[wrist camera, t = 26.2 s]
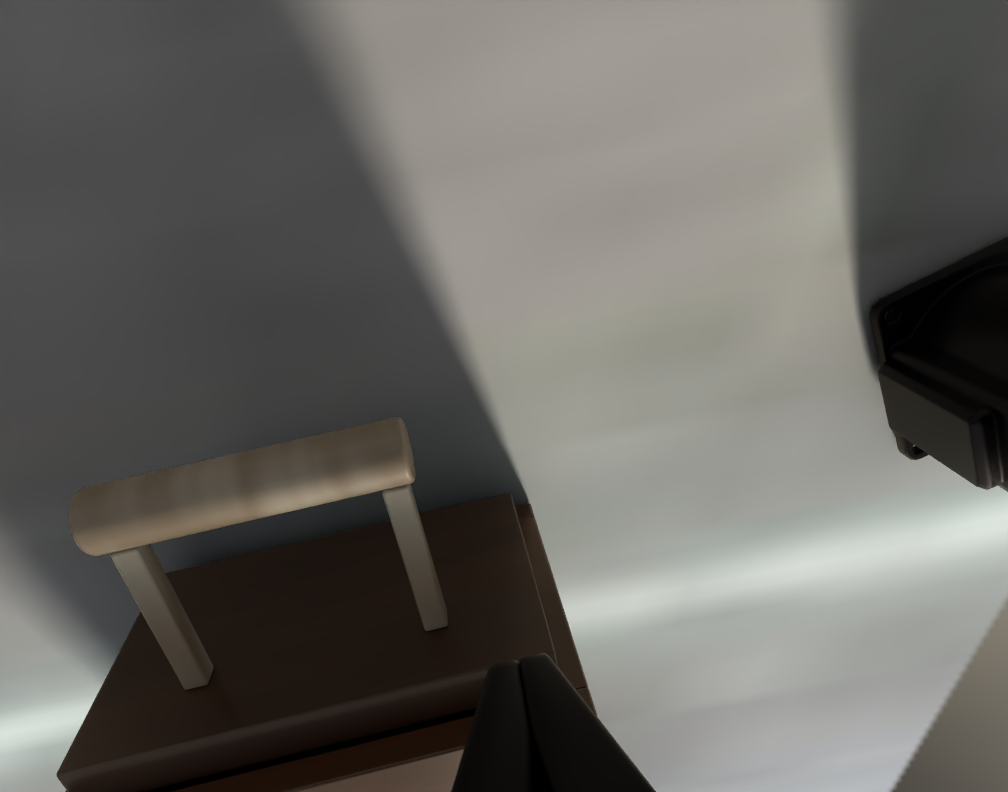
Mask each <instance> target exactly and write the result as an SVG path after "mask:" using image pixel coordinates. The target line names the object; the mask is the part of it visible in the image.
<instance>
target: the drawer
mask: <svg viewBox="0 0 1008 792" xmlns="http://www.w3.org/2000/svg"><path fill="white" fill-rule="evenodd" d="M414 481H415V465H414V459H413V453H412V449H411V444H410V440H409V436H408V433H407V430H406V427H405V424H404V422H403V420H402V419H401V418H399V417H395V418H390V419H386V420H381V421H377V422H372V423H368V424H364V425H359V426H355V427H350V428H346V429H341V430H337V431H333V432H328V433H324V434H319V435H315V436H310V437H306V438H301V439H297V440H293V441H288V442H284V443H279V444H275V445H270V446H266V447H261V448H257V449H253V450H248V451H244V452H239V453H235V454H230V455H226V456H221V457H217V458H213V459H208V460H204V461H199V462H195V463H190V464H186V465H181V466H177V467H173V468H168V469H164V470H159V471H155V472H150V473H146V474H142V475H137V476H133V477H128V478H124V479H119V480H115V481H110V482H106V483H102V484H97V485H93V486H88V487H84V488H82V489H81V490H79V491H78V492H77V493H76V494H75V495H74V497H73V498H72V500H71V503H70V507H69V526H70V530H71V533H72V536H73V538H74V540H75V542H76V544H77V545H78V547H79V548H80V549H81V550H82V551H83V552H85V553H87V554H89V555H94V556H99V555H104V554H108V553H111V559H112V560H113V562H114V564H115V566H116V568H117V569H118V571H119V573H120V575H121V577H122V578H123V580H124V582H125V584H126V586H127V587H128V589H129V591H130V593H131V595H132V596H133V598H134V600H135V602H136V603H137V605H138V607H139V609H140V613H139V615H138V617H137V619H136V621H135V623H134V625H133V627H132V629H131V631H130V633H129V634H128V636H127V638H126V640H125V642H124V644H123V646H122V648H121V650H120V652H119V654H118V656H117V658H116V660H115V662H114V664H113V665H112V667H111V669H110V671H109V673H108V675H107V677H106V679H105V681H104V683H103V685H102V687H101V689H100V691H99V693H98V695H97V696H96V698H95V700H94V702H93V704H92V706H91V708H90V710H89V712H88V714H87V716H86V718H85V720H84V722H83V724H82V726H81V727H80V729H79V731H78V733H77V735H76V737H75V739H74V741H73V743H72V745H71V747H70V749H69V751H68V753H67V755H66V757H65V758H64V760H63V762H62V764H61V766H60V768H59V770H58V772H57V777H58V779H59V780H60V782H61V783H62V784H63V786H64V787H65V788H66V790H67V791H68V792H144V791H148V790H151V792H170V791H174V790H178V789H182V788H186V787H190V786H194V785H198V784H202V783H206V782H210V781H214V780H218V779H222V778H226V777H230V776H234V775H238V774H242V773H246V772H250V771H254V770H258V769H262V768H266V767H270V766H274V765H278V764H282V763H286V762H290V761H294V760H297V759H296V757H295V755H294V754H296V753H300V752H304V751H308V750H312V749H316V748H320V747H324V746H328V745H332V744H336V743H340V742H344V741H348V740H352V739H356V738H360V737H364V736H368V735H372V734H376V733H380V732H384V731H388V730H392V729H396V728H400V727H404V726H408V725H412V724H416V723H420V722H424V721H428V720H432V719H436V718H440V717H444V716H448V715H452V714H456V717H457V720H458V719H462V718H466V717H470V716H473V715H475V712H476V708H477V705H478V702H479V699H480V695H481V692H482V689H483V685H484V682H485V679H486V676H487V672H488V670H489V668H490V666H491V665H493V664H496V663H501V662H505V661H509V660H516V661H517V662H518V663H519V661H520V659H521V658H523V657H527V656H531V655H535V654H540V653H546V654H547V655H548V656H549V657H550V658H551V659H552V660H553V662H554V663H555V664H556V665H557V667H558V664H557V659H556V654H555V650H554V646H553V642H552V639H551V635H550V632H549V628H548V624H547V621H546V617H545V613H544V610H543V606H542V603H541V599H540V595H539V592H538V588H537V584H536V581H535V577H534V574H533V570H532V566H531V563H530V559H529V555H528V552H527V548H526V545H525V541H524V537H523V534H522V530H521V527H520V523H519V519H518V516H517V512H516V508H515V505H514V501H513V498H512V494H511V493H507V494H503V495H499V496H494V497H490V498H486V499H482V500H477V501H473V502H469V503H464V504H460V505H456V506H452V507H447V508H443V509H439V510H435V511H430V512H426V513H422V514H419V512H418V508H417V505H416V501H415V498H414V495H413V491H412V488H411V483H413V482H414ZM381 490H382V495H383V498H384V501H385V504H386V508H387V511H388V514H389V517H390V520H391V521H387V522H383V523H379V524H375V525H370V526H366V527H362V528H357V529H353V530H349V531H345V532H340V533H336V534H332V535H327V536H323V537H319V538H315V539H310V540H306V541H302V542H297V543H293V544H289V545H285V546H280V547H276V548H272V549H267V550H263V551H259V552H255V553H250V554H246V555H242V556H237V557H233V558H229V559H225V560H220V561H216V562H212V563H207V564H203V565H199V566H195V567H190V568H186V569H182V570H177V571H173V572H169V573H165V572H164V570H163V568H162V566H161V564H160V562H159V560H158V558H157V556H156V554H155V553H154V551H153V549H152V547H151V545H150V544H151V543H156V542H160V541H164V540H169V539H173V538H177V537H182V536H186V535H190V534H195V533H199V532H203V531H208V530H212V529H216V528H221V527H225V526H229V525H234V524H238V523H242V522H247V521H251V520H255V519H260V518H264V517H268V516H273V515H277V514H281V513H286V512H290V511H294V510H299V509H303V508H307V507H312V506H316V505H320V504H325V503H329V502H333V501H338V500H342V499H346V498H351V497H355V496H359V495H364V494H368V493H372V492H377V491H381Z"/></svg>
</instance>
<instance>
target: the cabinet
mask: <svg viewBox="0 0 1008 792" xmlns="http://www.w3.org/2000/svg"><path fill="white" fill-rule="evenodd" d="M515 508H516V512H517V516H518V519H519V523H520V527H521V530H522V534H523V537H524V541H525V545H526V548H527V552H528V555H529V559H530V563H531V566H532V570H533V574H534V577H535V581H536V584H537V588H538V592H539V595H540V599H541V603H542V606H543V610H544V613H545V617H546V621H547V624H548V628H549V632H550V635H551V639H552V642H553V646H554V650H555V654H556V659H557V664H558V668H559V669H560V671H561V672H562V673H563V674H564V676H565V677H566V678H567V679H568V681H569V682H570V683H571V684H572V686H573V687H574V688H575V690H576V691H577V692H578V693H579V695H580V696H581V697H582V698H583V700H584V701H585V702H586V704H587V705H588V706H589V707H590V709H591V710H592V711H593V712H594V714H595V715H596V716H597V713H596V710H595V707H594V704H593V701H592V697H591V694H590V691H589V689H588V685H587V681H586V678H585V675H584V672H583V669H582V666H581V662H580V659H579V656H578V653H577V650H576V647H575V644H574V640H573V637H572V634H571V631H570V628H569V625H568V621H567V618H566V615H565V612H564V609H563V606H562V602H561V599H560V596H559V593H558V590H557V587H556V583H555V580H554V577H553V574H552V571H551V568H550V564H549V561H548V558H547V555H546V552H545V549H544V545H543V542H542V539H541V536H540V533H539V530H538V527H537V523H536V520H535V517H534V514H533V511H532V507H531V505H530V504H524V505H520V506H516V507H515ZM473 718H474V715H473V716H470V717H466V718H462V719H458V720H454V721H450V722H446V723H442V724H438V725H434V726H430V727H426V728H422V729H418V730H414V731H410V732H406V733H402V734H398V735H394V736H390V737H386V738H382V739H378V740H374V741H370V742H366V743H362V744H358V745H354V746H350V747H346V748H342V749H338V750H334V751H330V752H326V753H322V754H318V755H314V756H310V757H306V758H302V759H298V760H294V761H290V762H286V763H282V764H278V765H274V766H270V767H266V768H262V769H258V770H254V771H250V772H246V773H242V774H238V775H234V776H230V777H226V778H222V779H218V780H214V781H210V782H206V783H202V784H198V785H194V786H190V787H186V788H182V789H178V790H174V791H170V792H451V790H452V787H453V784H454V781H455V777H456V774H457V771H458V767H459V764H460V761H461V758H462V754H463V751H464V748H465V744H466V741H467V738H468V735H469V731H470V728H471V725H472V721H473ZM66 792H68V791H67V790H66ZM144 792H151V790H148V791H144Z"/></svg>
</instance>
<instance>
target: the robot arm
mask: <svg viewBox="0 0 1008 792" xmlns="http://www.w3.org/2000/svg"><path fill="white" fill-rule="evenodd" d="M890 309H892V312H891V314H890V316H889V317H887V318H886V319H885V315H886V313H887V312H888V311H889V310H890ZM870 321H871V325H872V330H873V335H874V339H875V344H876V349H877V353H878V358H879V363H880V365H879V369H878V377H879V381H880V386H881V391H882V395H883V400H884V404H885V409H886V413H887V418H888V423H889V427H890V428H891V429H892V430H893V431H894V432H895V437H896V441H897V446H898V449H899V451H900V452H901V453H902V454H904V455H905V456H906V457H908V458H909V459H911V460H917V459H920V458H923V457H925V456H927V455H931V456H932V457H933V458H935V459H936V460H938V461H939V462H941V463H942V464H944V465H945V466H947V467H948V468H950V469H951V470H953V471H954V472H956V473H957V474H959V475H960V476H962V477H963V478H965V479H966V480H968V481H969V482H971V483H972V484H974V485H975V486H977V487H980V488H983V489H986V490H987V489H990V488H993V487H995V486H997V485H998V486H1000V487H1001V488H1003V489H1004V490H1006V491H1007V492H1008V238H1006V239H1004V240H1002V241H1000V242H997V243H995V244H993V245H991V246H989V247H987V248H985V249H983V250H981V251H979V252H977V253H975V254H973V255H971V256H969V257H966V258H964V259H962V260H960V261H958V262H956V263H954V264H952V265H950V266H948V267H946V268H944V269H942V270H940V271H938V272H936V273H933V274H931V275H929V276H927V277H925V278H923V279H921V280H919V281H917V282H915V283H913V284H911V285H909V286H907V287H905V288H902V289H900V290H898V291H896V292H894V293H892V294H890V295H888V296H886V297H884V298H882V299H880V300H879V301H877V302H876V303H875V305H874V306H873V307H872V310H871V312H870ZM914 445H915V446H914ZM913 446H914V447H913ZM451 792H656V791H655V790H654V789H653V787H652V786H651V785H650V784H649V782H648V781H647V780H646V779H645V777H644V776H643V775H642V773H641V772H640V771H639V770H638V768H637V767H636V766H635V765H634V763H633V762H632V761H631V759H630V758H629V757H628V756H627V754H626V753H625V752H624V751H623V749H622V748H621V747H620V745H619V744H618V743H617V742H616V740H615V739H614V738H613V737H612V735H611V734H610V733H609V731H608V730H607V729H606V728H605V726H604V725H603V724H602V723H601V721H600V720H599V719H598V718H597V716H596V715H595V714H594V712H593V711H592V710H591V709H590V707H589V706H588V705H587V704H586V702H585V701H584V700H583V698H582V697H581V696H580V695H579V693H578V692H577V691H576V690H575V688H574V687H573V686H572V684H571V683H570V682H569V681H568V679H567V678H566V677H565V676H564V674H563V673H562V672H561V671H560V669H559V668H558V667H557V665H556V664H555V663H554V662H553V660H552V659H551V658H550V657H549V656H548V655H547V654H546V653H540V654H535V655H531V656H527V657H523V658H521V659H520V661H519V663H518V662H517V661H516V660H509V661H505V662H501V663H496V664H493V665H491V666H490V668H489V670H488V672H487V676H486V679H485V682H484V685H483V689H482V692H481V695H480V699H479V702H478V705H477V708H476V712H475V715H474V718H473V721H472V725H471V728H470V731H469V735H468V738H467V741H466V744H465V748H464V751H463V754H462V758H461V761H460V764H459V767H458V771H457V774H456V777H455V781H454V784H453V787H452V790H451Z"/></svg>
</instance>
